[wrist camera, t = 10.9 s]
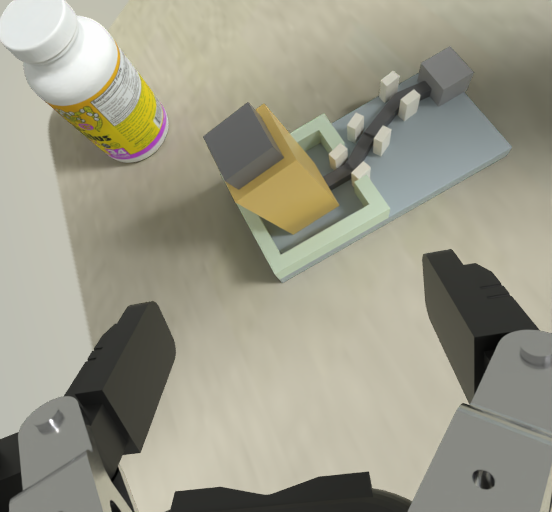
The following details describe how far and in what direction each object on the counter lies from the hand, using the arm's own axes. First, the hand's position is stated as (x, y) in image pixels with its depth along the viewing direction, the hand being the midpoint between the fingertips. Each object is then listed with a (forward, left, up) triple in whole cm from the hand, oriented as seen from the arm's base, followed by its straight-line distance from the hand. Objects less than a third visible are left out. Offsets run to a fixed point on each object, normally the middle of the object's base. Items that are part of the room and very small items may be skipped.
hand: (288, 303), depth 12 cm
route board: (-9, -10, -18) cm, 22 cm away
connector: (-4, -10, -16) cm, 19 cm away
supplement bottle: (+6, -24, -18) cm, 31 cm away
